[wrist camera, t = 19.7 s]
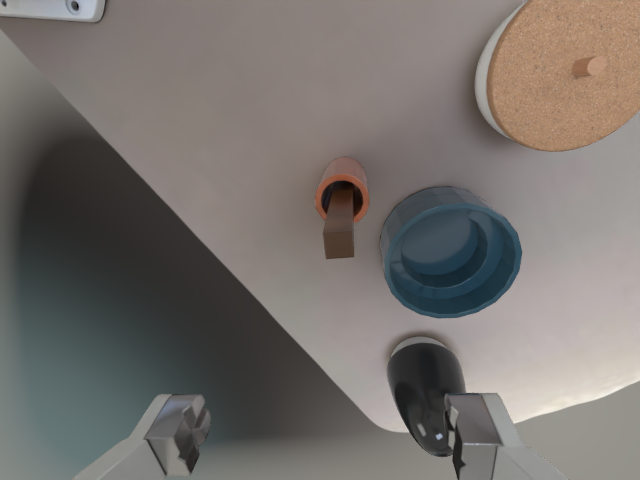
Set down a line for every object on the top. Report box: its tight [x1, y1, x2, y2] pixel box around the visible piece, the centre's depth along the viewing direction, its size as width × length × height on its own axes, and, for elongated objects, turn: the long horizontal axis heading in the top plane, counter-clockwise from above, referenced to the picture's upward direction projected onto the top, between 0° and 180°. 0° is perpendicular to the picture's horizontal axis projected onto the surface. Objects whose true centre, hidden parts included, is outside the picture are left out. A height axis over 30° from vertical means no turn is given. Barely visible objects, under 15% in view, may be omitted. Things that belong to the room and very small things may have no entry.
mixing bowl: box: [380, 186, 522, 318], centre depth 38 cm, size 14×14×7 cm
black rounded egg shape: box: [387, 337, 466, 457], centre depth 42 cm, size 10×10×15 cm
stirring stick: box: [323, 180, 354, 259], centre depth 30 cm, size 2×2×18 cm
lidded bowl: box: [475, 0, 640, 152], centre depth 27 cm, size 13×13×11 cm
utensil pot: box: [315, 157, 369, 223], centre depth 35 cm, size 5×5×9 cm
